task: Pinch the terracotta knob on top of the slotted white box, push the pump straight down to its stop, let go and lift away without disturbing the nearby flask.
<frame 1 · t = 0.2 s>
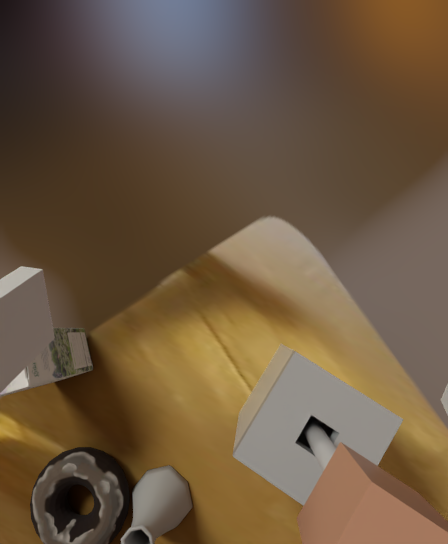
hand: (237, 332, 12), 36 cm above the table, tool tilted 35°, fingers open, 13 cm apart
donut: (88, 492, 46), on the table
flask: (163, 496, 45), on the table
pump plunger: (335, 468, 23), point 22 cm above the table, slide at 0.0 cm
syrup box: (70, 354, 48), on the table
slotted white box: (295, 400, 45), on the table
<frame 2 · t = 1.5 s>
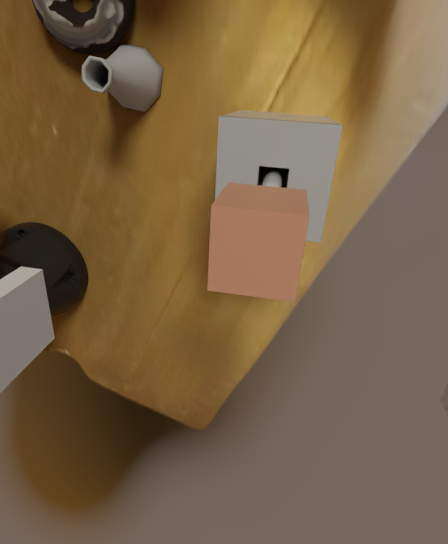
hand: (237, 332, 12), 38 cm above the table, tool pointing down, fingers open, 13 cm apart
flask: (135, 79, 45), on the table
pump plunger: (267, 201, 26), point 22 cm above the table, slide at 0.0 cm
slotted white box: (278, 156, 46), on the table
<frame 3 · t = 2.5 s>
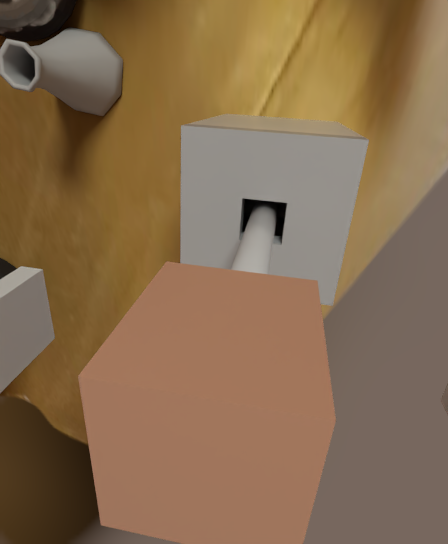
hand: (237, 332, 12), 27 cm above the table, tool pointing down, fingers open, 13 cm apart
flask: (89, 73, 35), on the table
pump plunger: (251, 267, 16), point 22 cm above the table, slide at 0.0 cm
slotted white box: (274, 173, 36), on the table
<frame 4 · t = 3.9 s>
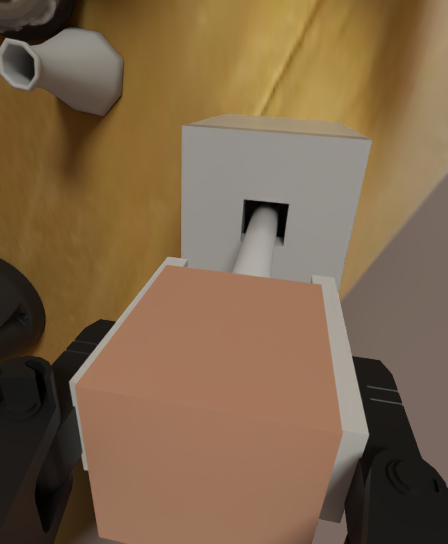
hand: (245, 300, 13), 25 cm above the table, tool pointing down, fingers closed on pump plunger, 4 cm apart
flask: (89, 73, 35), on the table
pump plunger: (252, 269, 16), point 22 cm above the table, slide at 0.0 cm, touching gripper
slotted white box: (275, 173, 35), on the table
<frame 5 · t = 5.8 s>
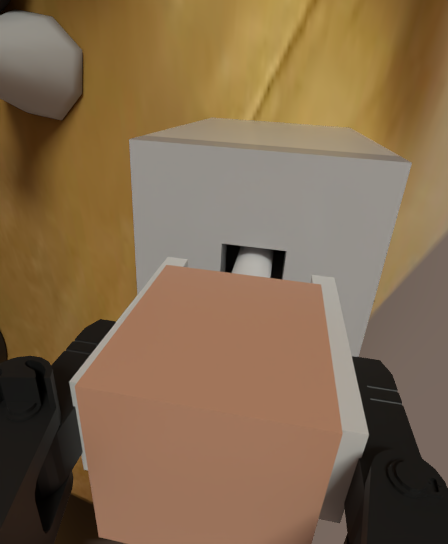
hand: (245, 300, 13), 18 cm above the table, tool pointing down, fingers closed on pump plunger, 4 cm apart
flask: (43, 68, 28), on the table
pump plunger: (252, 269, 16), point 15 cm above the table, slide at 7.1 cm, touching gripper
slotted white box: (271, 190, 29), on the table
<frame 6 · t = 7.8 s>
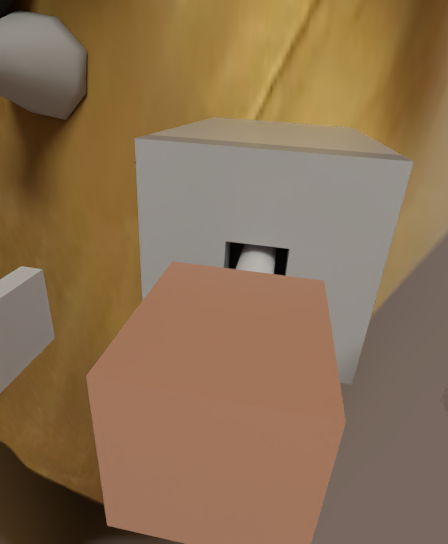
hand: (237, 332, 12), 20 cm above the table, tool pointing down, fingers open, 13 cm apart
flask: (47, 68, 28), on the table
pump plunger: (255, 267, 16), point 15 cm above the table, slide at 7.2 cm
slotted white box: (273, 189, 29), on the table
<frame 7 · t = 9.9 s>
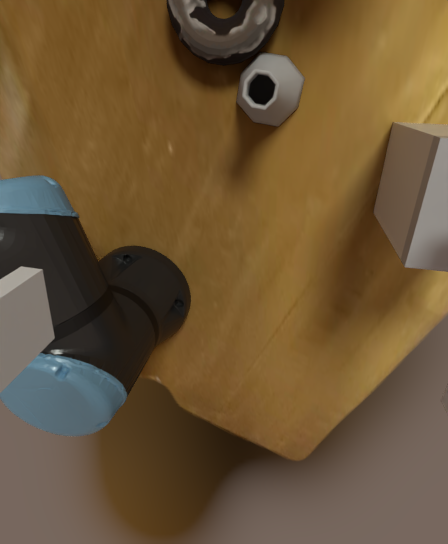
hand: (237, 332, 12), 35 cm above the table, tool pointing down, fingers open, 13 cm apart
donut: (228, 1, 38), on the table
flask: (269, 90, 40), on the table
slotted white box: (430, 172, 41), on the table
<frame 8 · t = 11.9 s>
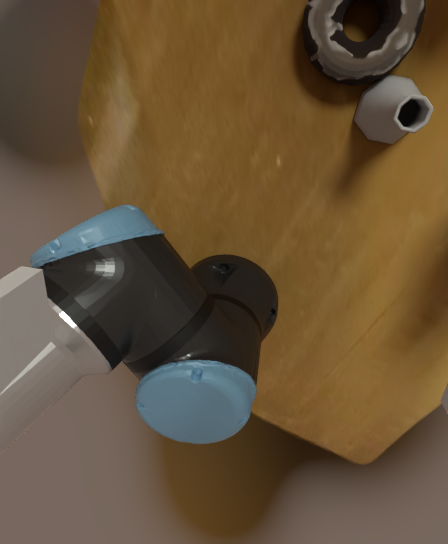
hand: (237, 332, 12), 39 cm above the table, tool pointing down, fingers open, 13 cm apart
donut: (358, 24, 39), on the table
flask: (387, 110, 42), on the table
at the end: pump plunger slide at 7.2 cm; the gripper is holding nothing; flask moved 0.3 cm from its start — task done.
